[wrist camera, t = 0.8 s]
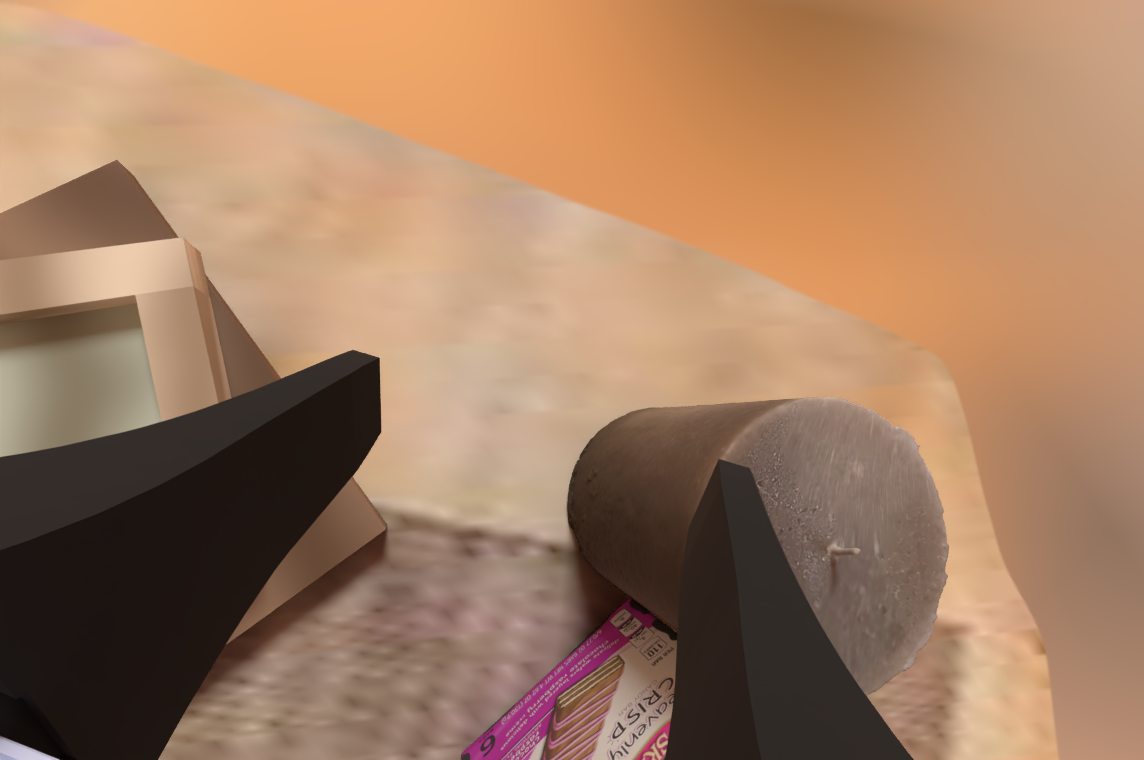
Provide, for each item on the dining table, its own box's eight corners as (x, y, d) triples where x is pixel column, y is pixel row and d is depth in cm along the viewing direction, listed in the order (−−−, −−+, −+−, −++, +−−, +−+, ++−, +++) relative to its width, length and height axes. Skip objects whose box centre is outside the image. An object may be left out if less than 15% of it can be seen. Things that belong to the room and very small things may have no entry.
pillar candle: (530, 523, 29) (647, 613, 15) (636, 372, 32) (827, 325, 17) (673, 627, 31) (902, 799, 17) (764, 477, 33) (1036, 514, 19)
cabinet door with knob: (-93, 646, 21) (-158, 673, 19) (-160, 300, 22) (-231, 284, 19) (264, 550, 25) (248, 562, 22) (200, 252, 25) (177, 233, 23)
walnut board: (39, 774, 23) (13, 798, 22) (-288, 373, 22) (-341, 368, 20) (387, 524, 28) (385, 529, 26) (133, 175, 26) (115, 158, 25)
